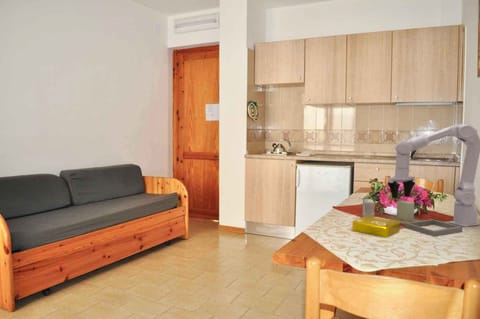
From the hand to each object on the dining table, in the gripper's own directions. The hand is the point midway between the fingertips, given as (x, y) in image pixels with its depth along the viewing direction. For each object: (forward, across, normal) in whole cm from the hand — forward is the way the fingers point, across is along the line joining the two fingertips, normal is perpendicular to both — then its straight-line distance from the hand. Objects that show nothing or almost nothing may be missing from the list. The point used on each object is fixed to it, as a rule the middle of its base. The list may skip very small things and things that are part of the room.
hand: (400, 197), depth 177 cm
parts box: (+10, 0, +3) cm, 10 cm away
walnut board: (+10, 0, +2) cm, 11 cm away
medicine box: (+11, +12, -8) cm, 18 cm away
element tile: (+11, +23, +9) cm, 27 cm away
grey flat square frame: (+10, 0, +18) cm, 20 cm away
